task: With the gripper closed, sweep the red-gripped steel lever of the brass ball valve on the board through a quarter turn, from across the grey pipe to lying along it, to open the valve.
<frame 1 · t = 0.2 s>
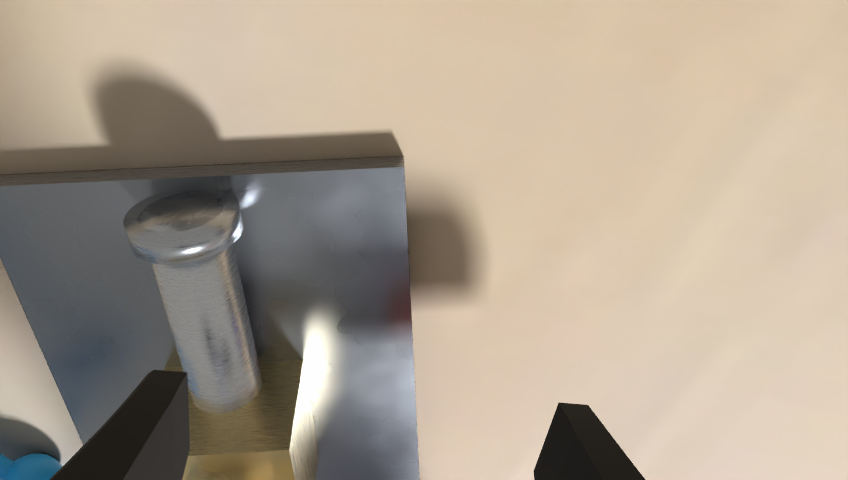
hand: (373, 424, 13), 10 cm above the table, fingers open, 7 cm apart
valve body: (249, 397, 25), on the table
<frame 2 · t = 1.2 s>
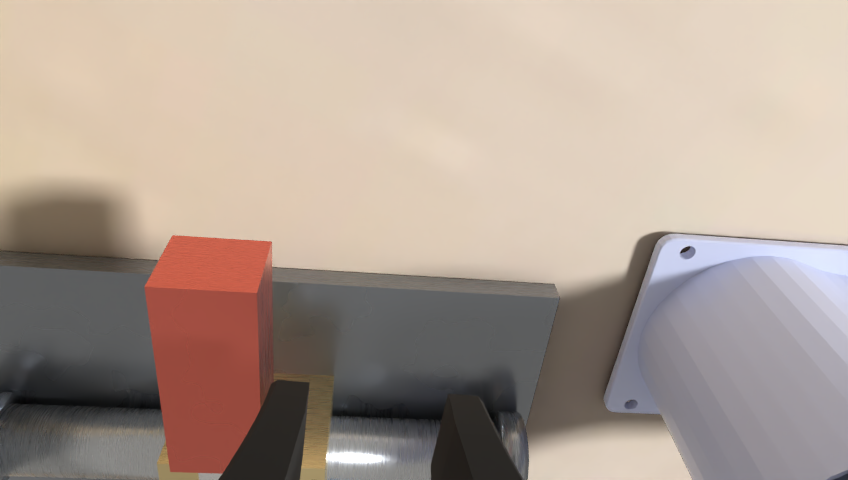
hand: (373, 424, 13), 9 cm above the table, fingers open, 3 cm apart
valve body: (268, 406, 25), on the table
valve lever: (228, 453, 17), point 6 cm above the table, hinge at 0.0°
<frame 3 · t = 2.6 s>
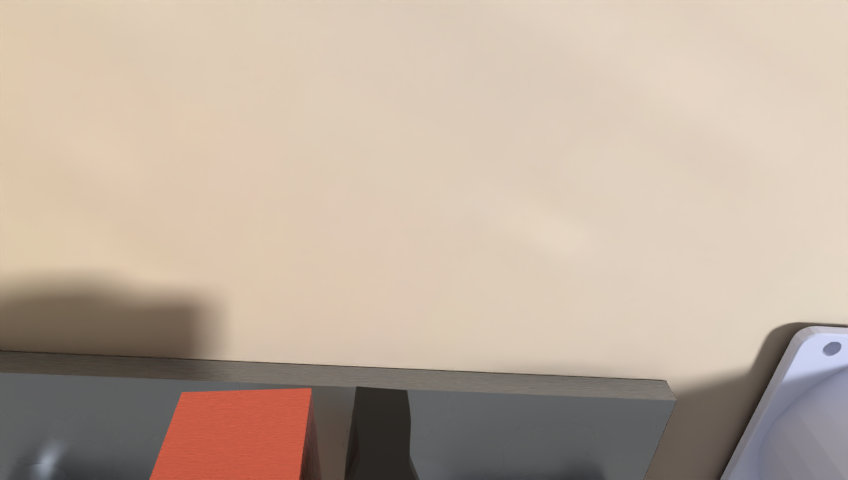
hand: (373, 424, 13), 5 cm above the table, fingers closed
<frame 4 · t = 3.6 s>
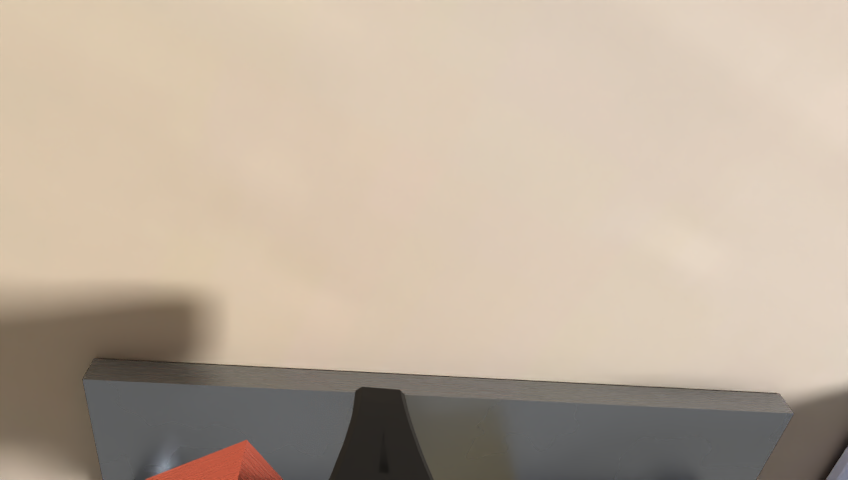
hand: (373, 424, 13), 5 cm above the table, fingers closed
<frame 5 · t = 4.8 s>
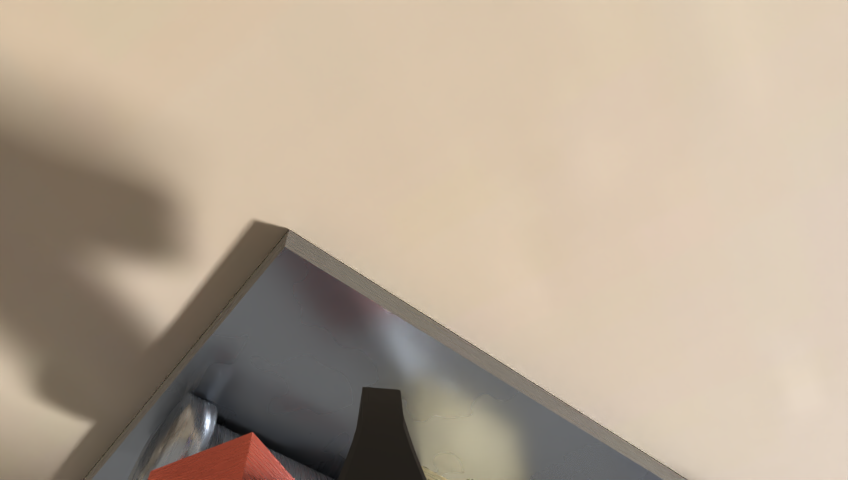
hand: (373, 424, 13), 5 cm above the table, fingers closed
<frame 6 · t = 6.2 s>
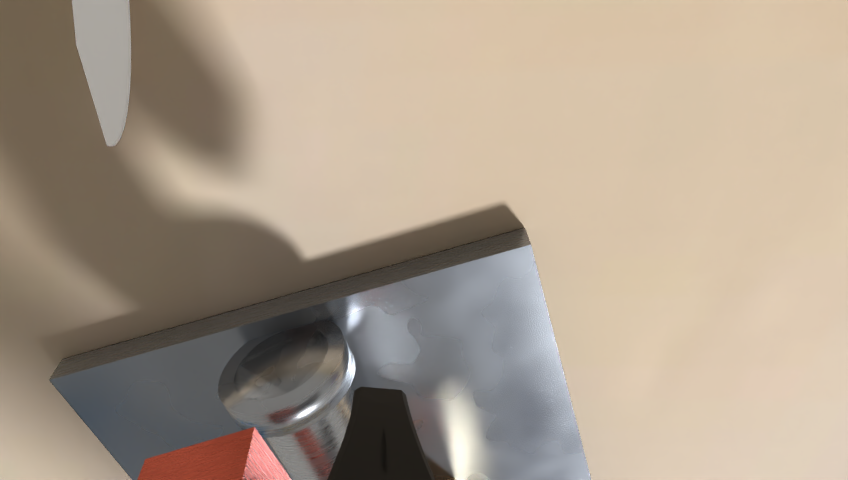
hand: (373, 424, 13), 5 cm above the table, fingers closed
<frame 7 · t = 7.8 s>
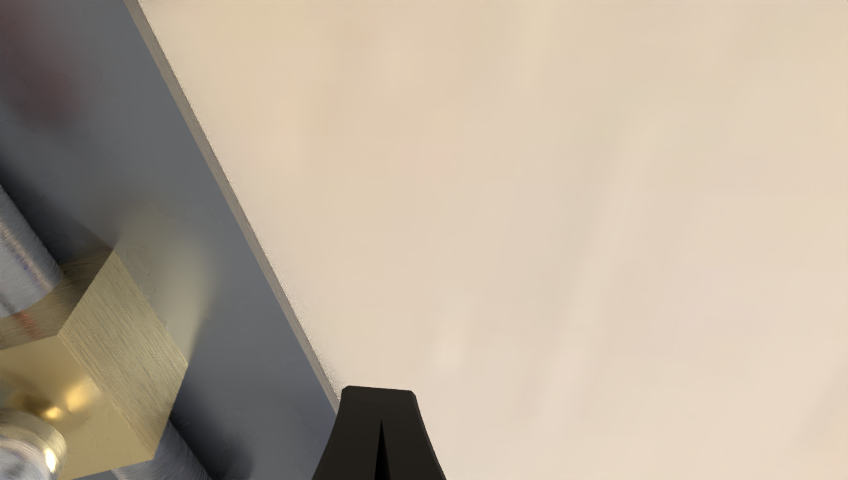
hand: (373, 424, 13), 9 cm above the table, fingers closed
valve body: (93, 314, 22), on the table
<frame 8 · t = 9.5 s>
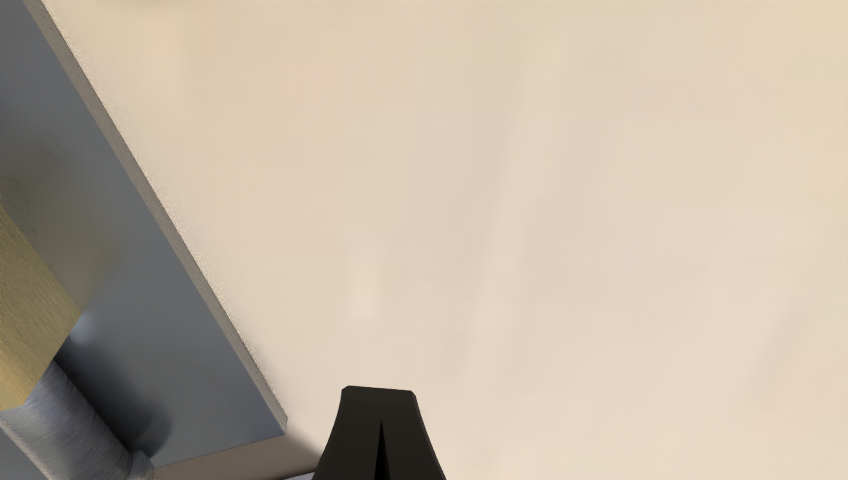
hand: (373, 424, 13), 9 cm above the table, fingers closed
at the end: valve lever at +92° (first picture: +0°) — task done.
